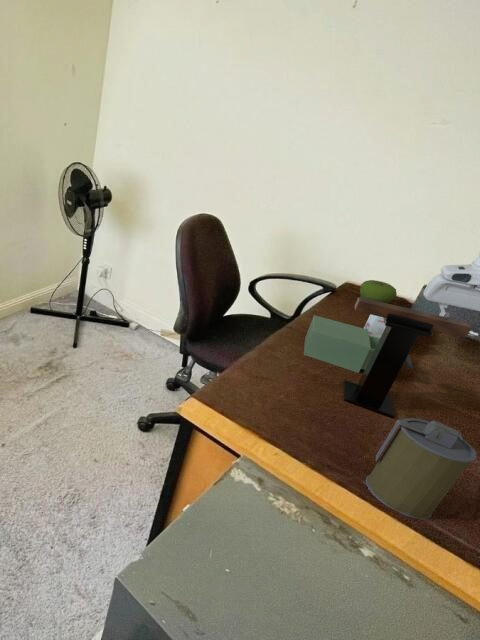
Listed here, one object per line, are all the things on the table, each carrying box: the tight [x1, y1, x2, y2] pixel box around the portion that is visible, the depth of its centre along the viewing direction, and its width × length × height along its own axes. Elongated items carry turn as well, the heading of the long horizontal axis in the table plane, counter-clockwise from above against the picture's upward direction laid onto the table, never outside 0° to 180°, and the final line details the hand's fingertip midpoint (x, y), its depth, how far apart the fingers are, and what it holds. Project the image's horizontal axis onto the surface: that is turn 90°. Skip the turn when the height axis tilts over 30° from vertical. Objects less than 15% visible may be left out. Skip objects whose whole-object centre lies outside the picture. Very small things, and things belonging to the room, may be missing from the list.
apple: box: [359, 279, 398, 304], centre depth 163 cm, size 11×10×10 cm
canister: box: [365, 417, 478, 520], centre depth 83 cm, size 11×10×20 cm
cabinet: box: [303, 314, 371, 374], centre depth 131 cm, size 14×13×10 cm
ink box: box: [363, 314, 386, 338], centre depth 135 cm, size 9×5×12 cm, turn 59°
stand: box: [342, 314, 433, 420], centre depth 109 cm, size 10×10×28 cm
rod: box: [354, 296, 473, 339], centre depth 103 cm, size 20×3×3 cm, turn 51°
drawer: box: [360, 335, 414, 371], centre depth 126 cm, size 17×11×8 cm
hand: (468, 323), depth 110 cm, fingers open, 8 cm apart
